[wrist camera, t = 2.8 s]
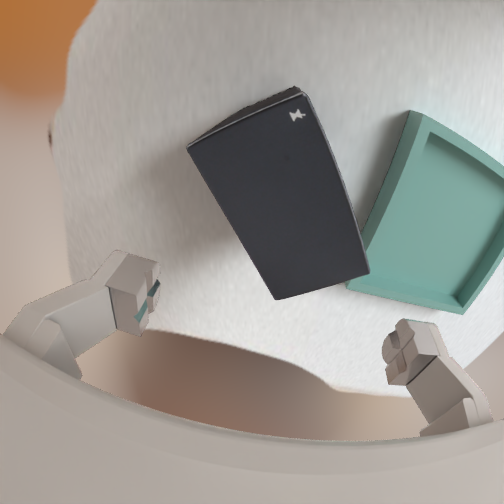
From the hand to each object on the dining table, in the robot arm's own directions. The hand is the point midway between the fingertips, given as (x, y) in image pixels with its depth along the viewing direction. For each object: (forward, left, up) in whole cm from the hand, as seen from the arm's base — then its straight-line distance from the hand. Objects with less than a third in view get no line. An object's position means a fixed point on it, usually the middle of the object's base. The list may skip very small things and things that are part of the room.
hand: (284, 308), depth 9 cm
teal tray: (+1, +17, -16) cm, 24 cm away
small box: (0, 0, -17) cm, 17 cm away
